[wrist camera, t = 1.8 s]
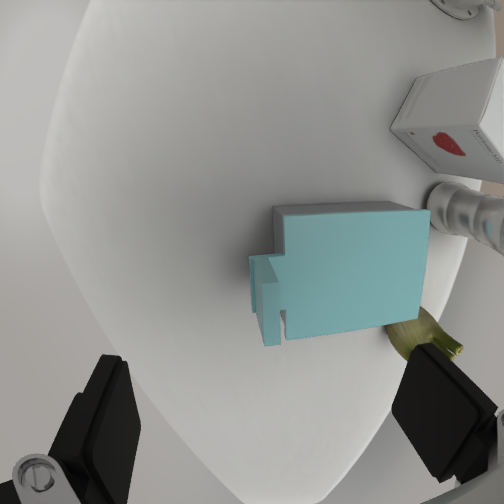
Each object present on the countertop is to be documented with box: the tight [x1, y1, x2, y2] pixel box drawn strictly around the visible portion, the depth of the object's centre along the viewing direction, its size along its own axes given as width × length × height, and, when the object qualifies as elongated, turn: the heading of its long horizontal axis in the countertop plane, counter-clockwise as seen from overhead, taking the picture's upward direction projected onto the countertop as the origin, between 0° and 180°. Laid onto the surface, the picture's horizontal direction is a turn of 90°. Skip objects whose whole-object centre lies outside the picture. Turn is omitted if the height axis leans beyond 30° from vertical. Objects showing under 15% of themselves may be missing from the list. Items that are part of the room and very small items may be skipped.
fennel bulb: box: [386, 306, 463, 362], centre depth 33 cm, size 6×5×12 cm
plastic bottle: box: [427, 182, 504, 256], centre depth 26 cm, size 6×7×20 cm
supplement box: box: [390, 57, 504, 184], centre depth 25 cm, size 9×9×15 cm
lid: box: [249, 209, 430, 346], centre depth 26 cm, size 18×12×7 cm, turn 93°
